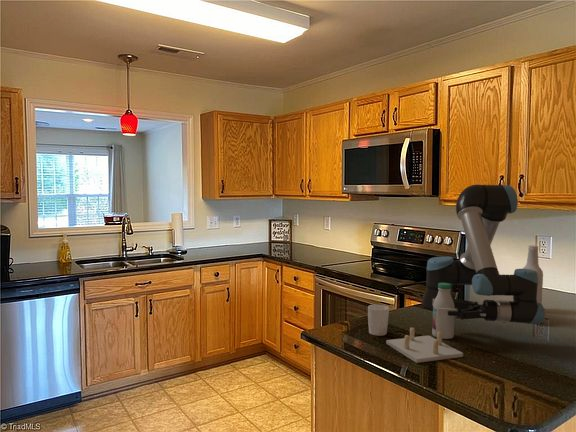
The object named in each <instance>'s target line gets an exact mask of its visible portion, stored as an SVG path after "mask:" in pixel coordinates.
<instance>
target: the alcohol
mask: <svg viewBox="0 0 576 432" xmlns="http://www.w3.org/2000/svg"><path fill="white" fill-rule="evenodd" d="M526 259H527V260H526V264H525V266H524V267H522V269H530V270H534V271H536V272H537V274H538V287H537V303H541V304H542V305H543V302H542V301H543V285H544V272H543V271H544V270H543V269H542V268H541V267H540V265H539V246H538V245H532V244H531V245H528V253H527V258H526Z"/></svg>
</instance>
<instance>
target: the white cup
mask: <svg viewBox="0 0 576 432" xmlns="http://www.w3.org/2000/svg"><path fill="white" fill-rule="evenodd" d="M389 312H390V307H389V306H387V305H382V304H369V305H368V306H367V323H368V333H369V334H370V335H372V336H377V337H378V336H379V337H381V336H386V335H388V334H387V333H388V325H389V314H390V313H389Z"/></svg>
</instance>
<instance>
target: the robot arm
mask: <svg viewBox="0 0 576 432" xmlns="http://www.w3.org/2000/svg"><path fill="white" fill-rule="evenodd" d="M518 198H519V197H518V195H517V191H516V189H515V187H513V186H511V185H506V184H504V185H503V184H471V185H469V186H467V187H466V188H464V189H463V190H462V191H461V192H460V194H459V195H458V197H457V199H456V202H455V211H456V216H457V219H458V220H460V221H461V223H462V228H463V232H464V235H465V238H466V242H467V246H466V249H465V252H463V253H461V255H460V257H459V259H454V258H453V257H452V256H434V257H431V258H429V259H428V260H427V263H426V284H425V285H426V286H425V291H424V293H423V298H422V299H421V306H423V307H425V308H427V309H430V310H433V304H434V301H435V298H436V297H437V295H438V291H439V289H438V283H449V284H451V290H450V293H451V297H452V299H453V302H454V307H455V309H448V308H438V316H449V317H454V318H458V319H460V320H469V319H470V320H472V319H473V320H474V319H484V321H487V322H489V321H491V322H495V321H496V322H501V323H503V324H505V323H507V322H508V323H519V324H529V325H530V324H532V325H533V324H534V325H535V324H542V323H543V322H544V320H545V309H544V308H545V307H544V305H543V303H542V304H541V303H537V287H538V274H537V272H536V271H534V270H530V269H523V268H515V269H514V270H513V271H514V272H513V274H500V272H499V269H498V266H497V262H496V259H495V256H494V253H493V249H492V247H491V245H492V242H493V240H494V237H495V235H496V232H497V230H498V227H499V225H500V222H504V221H505V220H506V218H507V216H508V214H514V213H515V212H516V211H517V209H518V205H519V201H518ZM453 285H454V286H457V285H459V286H471V288H472V290H473V292H474V293H475V294H476V295H479V296H485V297H486V296H487V297H490V296H510V297H511V296H512V298H513V300H499V299H498V300H493V299H484V300H483V302H482V304H479V303H478V301H471V300H464V299H459V298H455V296H454V294H453Z"/></svg>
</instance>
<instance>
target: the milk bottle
mask: <svg viewBox="0 0 576 432" xmlns="http://www.w3.org/2000/svg"><path fill="white" fill-rule="evenodd" d="M438 289H439V291H438V295H437V297H436V298H435V301H434V304H433V309H432V325H431V326H432V328H431V329H432V330H431V333H432V337H434V338H437V332H442V340H449V339H454V336H455V317H449V316H438V308H448V309H456V308H455V307H454V302H453V299H452V297H451V293H450V290H451V284H449V283H438Z"/></svg>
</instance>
